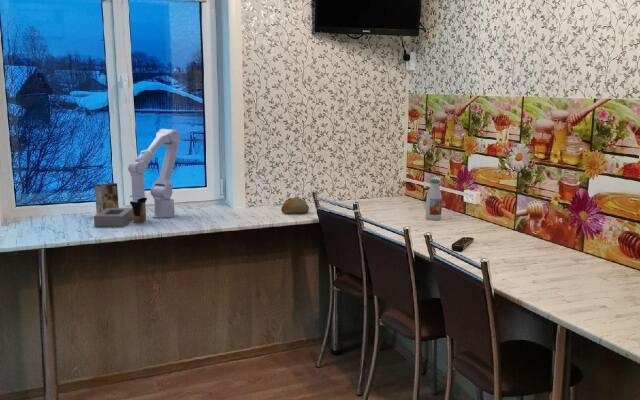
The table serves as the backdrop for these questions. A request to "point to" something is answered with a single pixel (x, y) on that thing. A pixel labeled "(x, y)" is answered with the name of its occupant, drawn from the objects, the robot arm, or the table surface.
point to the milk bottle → (434, 201)
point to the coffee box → (106, 196)
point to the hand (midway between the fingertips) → (139, 214)
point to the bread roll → (295, 206)
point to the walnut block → (142, 215)
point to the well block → (113, 217)
